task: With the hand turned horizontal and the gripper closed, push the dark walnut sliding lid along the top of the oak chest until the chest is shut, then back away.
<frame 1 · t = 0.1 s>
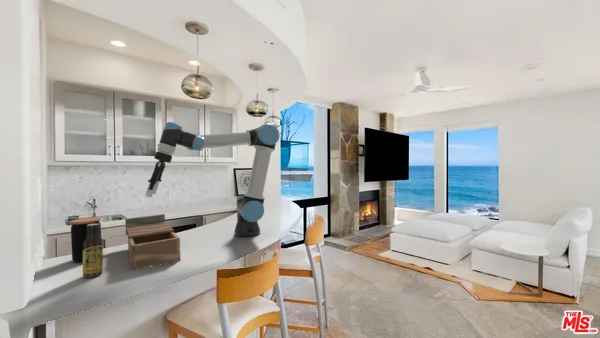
hand: (150, 195, 131), 28 cm above the counter, tool tilted 20°, fingers open, 13 cm apart
chest: (153, 258, 123), on the counter
sauce bottle: (93, 275, 105), on the counter
lid: (148, 228, 134), point 11 cm above the counter, slide at 13.0 cm
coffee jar: (87, 259, 123), on the counter
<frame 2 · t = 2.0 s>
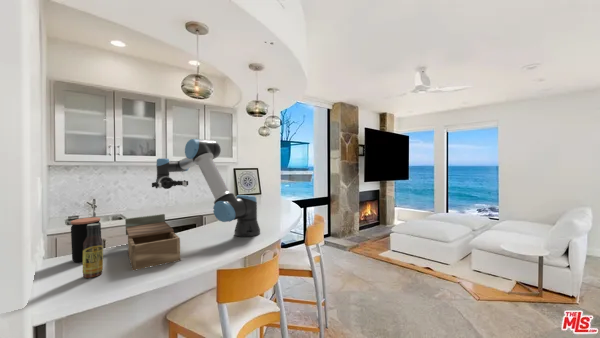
hand: (173, 185, 157), 30 cm above the counter, tool horizontal, fingers open, 13 cm apart
nothing on the counter moved.
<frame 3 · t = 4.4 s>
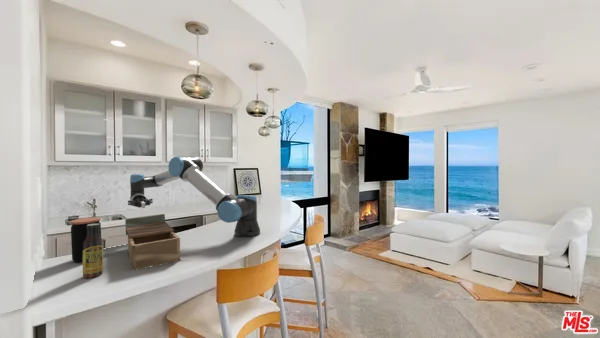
hand: (143, 205, 147), 20 cm above the counter, tool horizontal, fingers closed
nothing on the counter moved.
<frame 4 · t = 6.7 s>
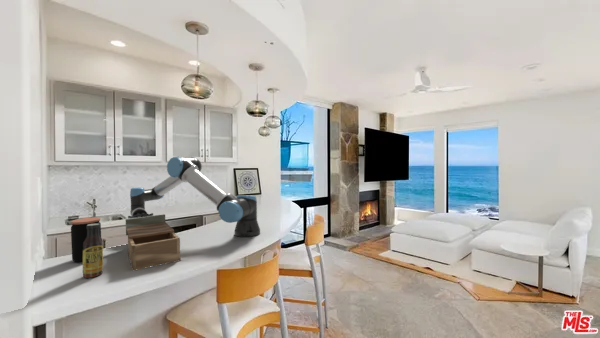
hand: (144, 221, 143), 12 cm above the counter, tool horizontal, fingers closed
lid: (149, 228, 133), point 11 cm above the counter, slide at 11.7 cm, touching gripper
everything else where it was.
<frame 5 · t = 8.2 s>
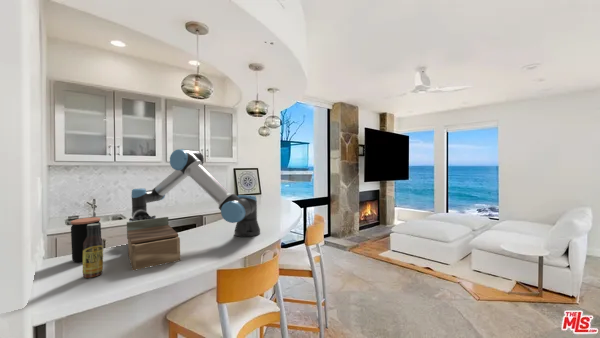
hand: (146, 224, 136), 12 cm above the counter, tool horizontal, fingers closed
lid: (151, 232, 126), point 11 cm above the counter, slide at 3.0 cm, touching gripper
everything else where it was.
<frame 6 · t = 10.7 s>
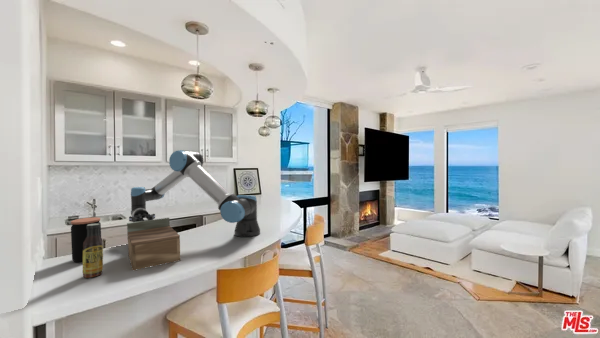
hand: (146, 222, 138), 13 cm above the counter, tool horizontal, fingers closed
lid: (152, 233, 124), point 11 cm above the counter, slide at 0.0 cm
everything else where it was.
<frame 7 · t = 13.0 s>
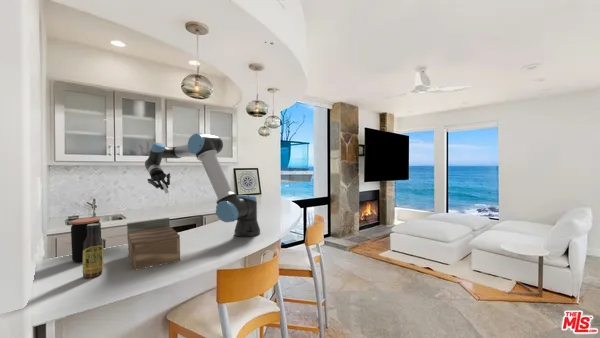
hand: (166, 190, 153), 27 cm above the counter, tool tilted 65°, fingers closed
nothing on the counter moved.
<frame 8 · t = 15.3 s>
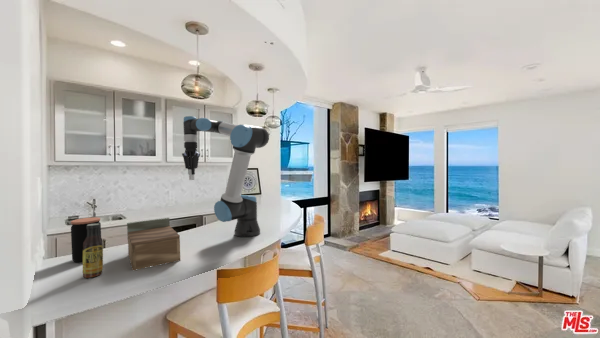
hand: (191, 179, 168), 32 cm above the counter, tool pointing down, fingers closed
nothing on the counter moved.
at the end: lid slide at 0.0 cm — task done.
